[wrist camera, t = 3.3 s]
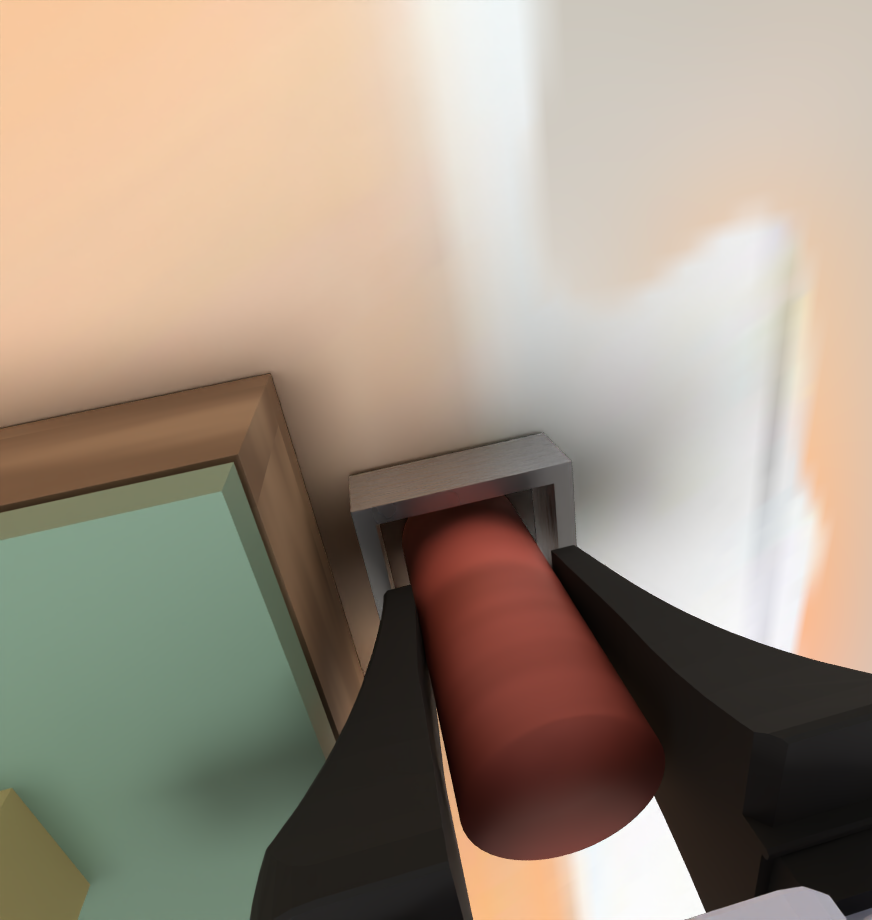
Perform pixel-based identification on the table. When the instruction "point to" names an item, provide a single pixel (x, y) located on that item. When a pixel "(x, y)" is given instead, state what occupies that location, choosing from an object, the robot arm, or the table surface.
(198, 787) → the lid
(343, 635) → the wooden box
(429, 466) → the key socket
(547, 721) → the key peg
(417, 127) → the table surface
